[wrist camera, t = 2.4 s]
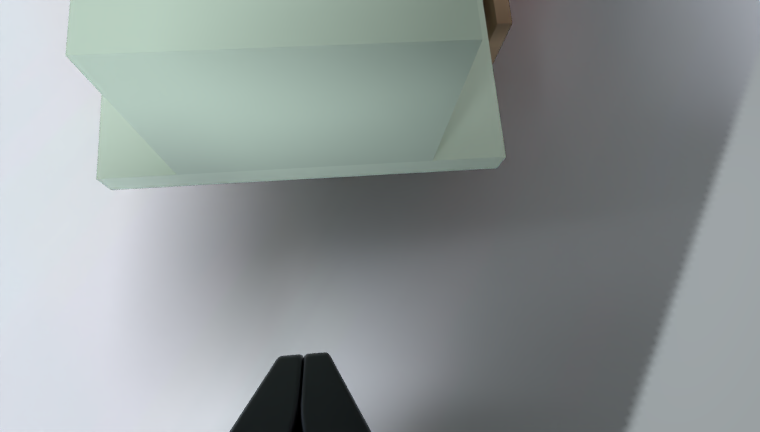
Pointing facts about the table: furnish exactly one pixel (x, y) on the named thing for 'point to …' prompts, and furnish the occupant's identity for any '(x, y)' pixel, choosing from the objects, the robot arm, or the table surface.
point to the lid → (286, 88)
